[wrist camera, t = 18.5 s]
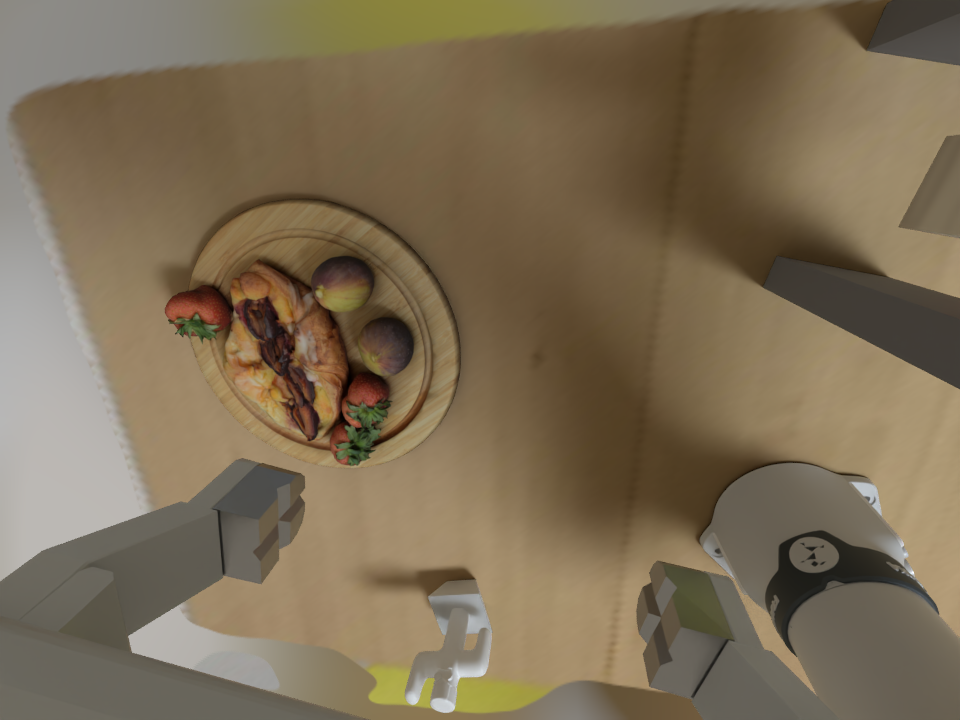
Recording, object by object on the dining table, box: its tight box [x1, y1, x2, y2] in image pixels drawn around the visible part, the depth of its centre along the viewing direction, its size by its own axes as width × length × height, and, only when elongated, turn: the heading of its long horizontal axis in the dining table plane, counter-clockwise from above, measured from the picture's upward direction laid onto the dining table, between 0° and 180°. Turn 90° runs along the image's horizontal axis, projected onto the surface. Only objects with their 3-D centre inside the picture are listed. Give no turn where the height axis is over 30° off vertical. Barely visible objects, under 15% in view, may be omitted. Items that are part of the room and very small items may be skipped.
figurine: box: [405, 579, 493, 713], centre depth 56 cm, size 7×9×15 cm
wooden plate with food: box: [165, 199, 461, 468], centre depth 48 cm, size 32×32×8 cm
